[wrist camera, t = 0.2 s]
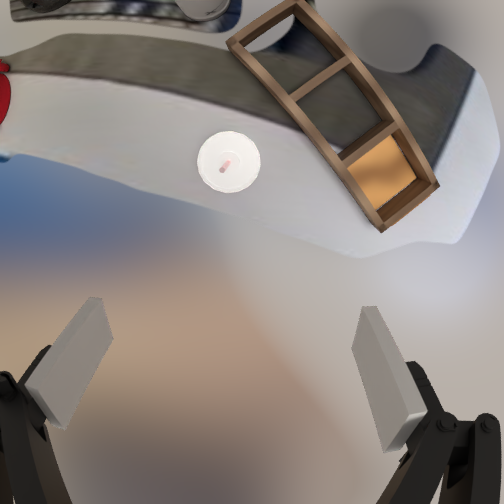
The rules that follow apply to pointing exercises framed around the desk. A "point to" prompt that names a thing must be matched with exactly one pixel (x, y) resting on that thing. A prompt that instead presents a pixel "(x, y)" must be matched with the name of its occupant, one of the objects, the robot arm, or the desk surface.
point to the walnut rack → (368, 145)
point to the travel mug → (203, 8)
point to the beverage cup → (228, 162)
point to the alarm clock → (4, 91)
